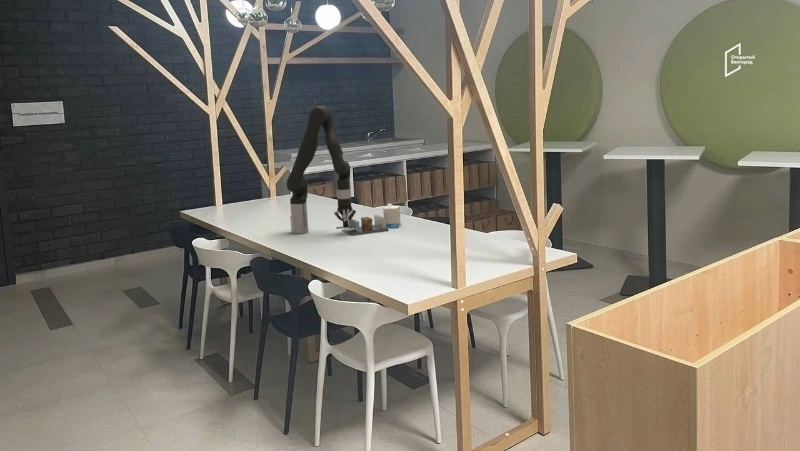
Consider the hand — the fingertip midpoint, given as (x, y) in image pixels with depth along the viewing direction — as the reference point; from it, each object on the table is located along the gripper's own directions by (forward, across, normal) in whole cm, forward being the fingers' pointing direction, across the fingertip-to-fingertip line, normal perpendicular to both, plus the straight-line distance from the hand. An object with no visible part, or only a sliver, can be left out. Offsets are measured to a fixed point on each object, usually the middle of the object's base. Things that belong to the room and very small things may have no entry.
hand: (345, 227), depth 383 cm
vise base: (+4, +12, 0) cm, 12 cm away
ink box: (+4, +30, +3) cm, 30 cm away
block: (+2, +13, 0) cm, 13 cm away
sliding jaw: (+2, +1, 0) cm, 2 cm away
